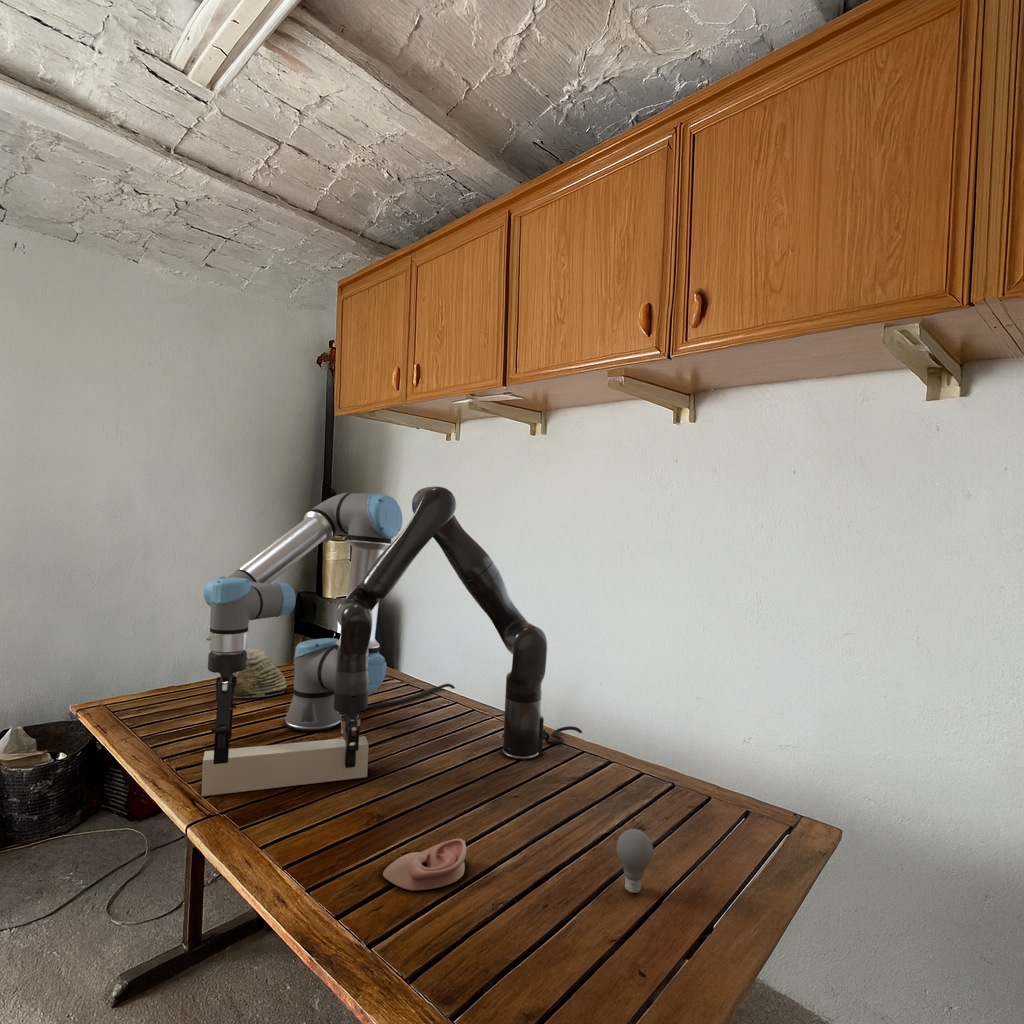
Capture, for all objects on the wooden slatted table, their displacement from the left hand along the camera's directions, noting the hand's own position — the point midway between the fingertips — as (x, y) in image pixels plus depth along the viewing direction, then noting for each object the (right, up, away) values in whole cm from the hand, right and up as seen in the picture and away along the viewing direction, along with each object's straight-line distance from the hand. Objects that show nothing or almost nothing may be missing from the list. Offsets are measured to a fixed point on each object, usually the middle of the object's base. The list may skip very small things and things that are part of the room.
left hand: (222, 750), depth 135 cm
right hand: (+24, -6, +10) cm, 27 cm away
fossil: (-19, -6, +63) cm, 66 cm away
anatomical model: (+47, -11, -26) cm, 55 cm away
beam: (+12, -9, +5) cm, 16 cm away
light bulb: (+82, -13, -29) cm, 88 cm away
